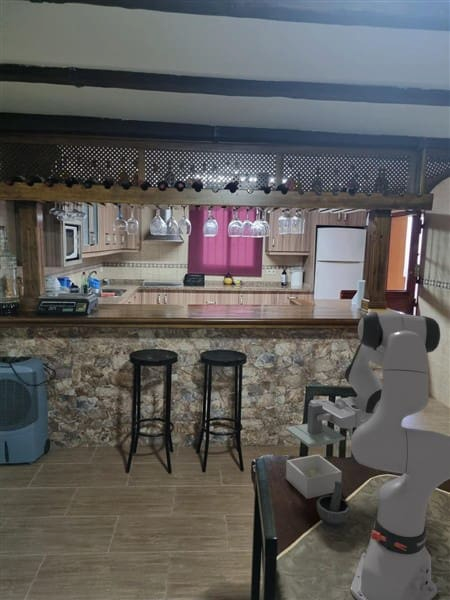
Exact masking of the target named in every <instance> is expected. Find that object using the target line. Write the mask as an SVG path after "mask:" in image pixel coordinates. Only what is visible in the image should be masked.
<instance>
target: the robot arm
mask: <svg viewBox="0 0 450 600" xmlns="http://www.w3.org/2000/svg"><path fill="white" fill-rule="evenodd" d="M440 328H441V327H440V325H439V323H438V322H437V320H436V319H434V318H432V317H428V316H425V315H421V316H419V315H414V314H408V313H407V314H406V313H401V312H395V311H384V312H377V311H372V312H370V311H369V312H365V313H364V314H362V316H361V317H360V320H359V322H358V326H357V334H358V338H359V341H360V343H359V344H358V347H357V349H356V351H355V353H354V355H353V358H352V360H351V361H350V364H348V365H347V368H346V369H345V373H344V379H345V381H346V382H347V383H348V384H349V385H350V386H351V388H352V389H353V390H354V392H355V393H356V394H357V395H356V396H355V397H342V398H338V399H336V400H335V402H333V401H331V400H329V399H324V398H322V399H319V398H318V399H311V400H310V401H309V403H308V404H312V403H319V404H321V405H323V409H322V415H321V414H316V415H315V419H317V420H318V421H320V420H322V421H324V422H330V423H331V424H333V425H335V426H337V427H338V428H340V429H352V428H355V430H354V431H353V433H352V434H351V435H352V436H351V437H350V450H351V454H352V457H354V459H355V460H356V462H358V464H360V465H363V466H365V467H368V468H372V469H374V470H376V471H384V472H390V473H397V474H402V475H401V476H399V477H397V478H394V479H392V480H389V481H387V482H385V483H384V484H383V485H382V487H380V489H379V491H378V497H377V498H378V500H377V501H378V503H377V514H376V515H375V521H374V525H373V530H371V534H370V535H371V536H370V540H369V543H368V545H367V546H368V547H367V549H365V552H363V553H362V554H361V557H360V560H359V563H358V565H357V569H356V571H355V574H354V577H353V579H352V582H351V585H350V593H351V595H353V597H354V598H355V599H356V600H432V599H433V598H434V597H435V596H436V595H438V588H437V585H436V584H435V583H434V582H433V581H432V557H431V555H430V553H429V551H428V549H427V547H426V543H427V542H426V540H427V529H426V526H425V524H426V523H425V522H426V513H427V507H428V503H429V500H430V498H431V496H432V494H433V493H434V491H435V490H436V489H437V488H438V487H439V486H440V485H442V484H443V483H444V482H446V481H448V480H450V435H447V434H445V433H444V434H443V433H440V432H437V431H433V430H426V429H417V428H407V427H404V426H402V423H403V421H404V419H405V418H406V417H409V416H412V415H414V414H417V413H420V412H421V411H423V410H425V409H426V408H427V407H428V404H429V399H430V396H429V391H430V390H429V389H430V388H429V386H430V382H429V380H430V379H429V376H430V375H429V359H428V353H432V352H434V351H436V349H437V348H438V347H439V344H440V341H441V329H440ZM370 362H372V363H373V364H375V365H379V366H382V381H381V380H380V378H379V377H378V375H377V374H376V373H375V372H374V371H373V368H372V367H371V366H370ZM362 421H365V422H364V423H361V422H362Z"/></svg>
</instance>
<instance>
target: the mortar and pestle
mask: <svg viewBox="0 0 450 600" xmlns="http://www.w3.org/2000/svg"><path fill="white" fill-rule="evenodd" d="M344 485H345V484H344V483H343V482H342V481H341V482H339V481H335V487H334V491H333V493H332V495H330V494H326V495H321V496H319V498H318V499H317V501H316V510H317V513H318V515H319V517H320V519H321V525H322V526H323V528H324V529H325V530H327V531H328V532H333V533H337V532H338V533H339V532H340V531H342V530H343V528H344V524H345V523H346V522H347V519H348V518H349V516H350V513H351V506H350V504H349V501H347V500H346V499H344V498H343V497H342V495H343V488H344V487H345V486H344Z"/></svg>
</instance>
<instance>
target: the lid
mask: <svg viewBox="0 0 450 600" xmlns="http://www.w3.org/2000/svg"><path fill="white" fill-rule="evenodd" d="M322 409H323V405H321V404H319V403H312V404H309V403H308V405H307V423H303V424H297V425H296V424H294V425H292V426H285V427H284V428H285V430H286V431H287V432H288V433H290V434H291V436H293V437H295V439H297V440H298V441H300V442H301V443H302V444H304V445H306V447H308V448H309V449H311V448H315V447H320V446H321V447H322V446H326V445H327V446H328V445H331V444H337V443H339V441H344V440H346V436H344V434H343V435H342V434H341V433H340V432H338V431H336V430H334V429H333V428H331V427H329V426H328V425H326V424H325V423H323V420H320V421H318V420H317V419H315V415H316V414H321V415H322Z"/></svg>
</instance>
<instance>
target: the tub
mask: <svg viewBox="0 0 450 600" xmlns="http://www.w3.org/2000/svg"><path fill="white" fill-rule="evenodd" d="M285 463H286V465H285V467H286V468H285V479H286V480H287V481H288V482H289V484H291V485H292V486H293V487H294V488H295V489H297V491H298V492H299V493H300V494H301V495H303V497H305V499H308V500H309V499H312V498H315V497H322V496H326V495H330V494H333V491H334V487H335V481H339V482H342V477H343V476H342V475H343V474H342V473H343V471H342V470H340V469H339V468H337V467H336V466H335V465H333V463H331V462H330V461H328V459H325V457H323V456H321V455H320V454H319V453H317V454H312V455H308V456H303V457H297V458H292V459H288V460H287V459H286V462H285Z"/></svg>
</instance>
